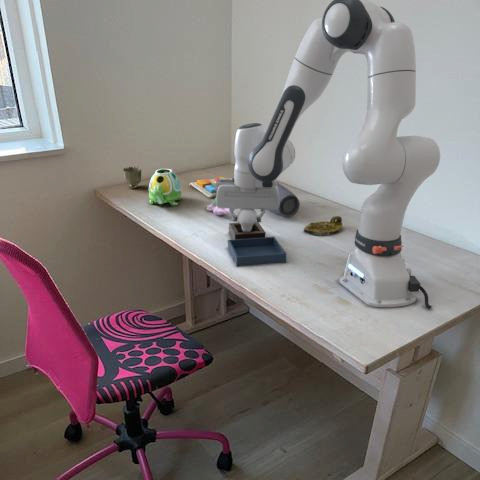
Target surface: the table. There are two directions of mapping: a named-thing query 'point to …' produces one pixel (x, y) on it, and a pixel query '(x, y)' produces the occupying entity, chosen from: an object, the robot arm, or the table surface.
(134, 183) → the cup
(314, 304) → the table surface
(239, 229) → the stand
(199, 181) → the puzzle board
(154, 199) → the turtle holder
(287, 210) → the bluetooth speaker
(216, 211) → the rabbit figure
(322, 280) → the table surface
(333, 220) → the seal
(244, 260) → the tray
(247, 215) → the lightbulb
